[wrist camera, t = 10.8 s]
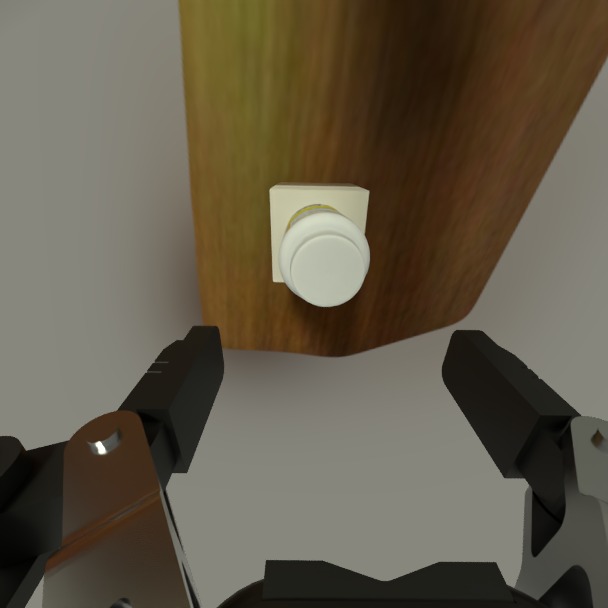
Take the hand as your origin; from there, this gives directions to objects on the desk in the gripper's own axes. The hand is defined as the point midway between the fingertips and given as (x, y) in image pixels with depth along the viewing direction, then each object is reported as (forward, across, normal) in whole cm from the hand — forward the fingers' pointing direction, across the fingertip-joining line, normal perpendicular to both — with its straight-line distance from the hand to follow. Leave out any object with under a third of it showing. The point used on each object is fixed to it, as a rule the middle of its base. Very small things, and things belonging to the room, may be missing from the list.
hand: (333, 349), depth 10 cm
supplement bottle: (+16, 0, 0) cm, 16 cm away
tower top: (+21, 0, 0) cm, 21 cm away
